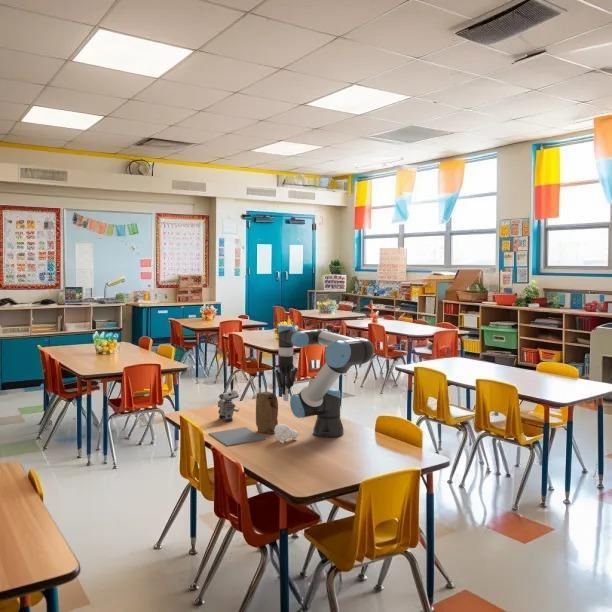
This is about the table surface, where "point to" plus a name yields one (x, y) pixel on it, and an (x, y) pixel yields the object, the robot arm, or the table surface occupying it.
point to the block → (266, 412)
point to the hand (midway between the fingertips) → (285, 400)
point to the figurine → (227, 405)
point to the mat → (236, 436)
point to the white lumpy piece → (284, 432)
